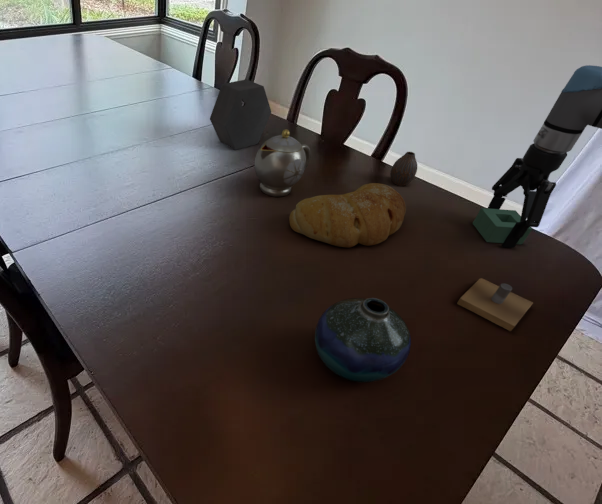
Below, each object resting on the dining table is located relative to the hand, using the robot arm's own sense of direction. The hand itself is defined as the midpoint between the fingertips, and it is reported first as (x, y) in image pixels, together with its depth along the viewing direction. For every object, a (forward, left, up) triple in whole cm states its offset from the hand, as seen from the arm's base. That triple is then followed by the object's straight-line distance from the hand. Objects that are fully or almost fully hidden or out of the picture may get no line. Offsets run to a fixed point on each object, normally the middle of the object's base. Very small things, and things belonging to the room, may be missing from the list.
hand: (496, 233), depth 113 cm
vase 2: (+18, -26, 0) cm, 32 cm away
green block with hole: (0, 0, 0) cm, 0 cm away
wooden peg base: (+14, +30, 0) cm, 33 cm away
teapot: (+55, -16, 0) cm, 57 cm away
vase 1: (+48, +49, 0) cm, 69 cm away
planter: (+66, -47, 0) cm, 81 cm away
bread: (+38, +2, 0) cm, 38 cm away
